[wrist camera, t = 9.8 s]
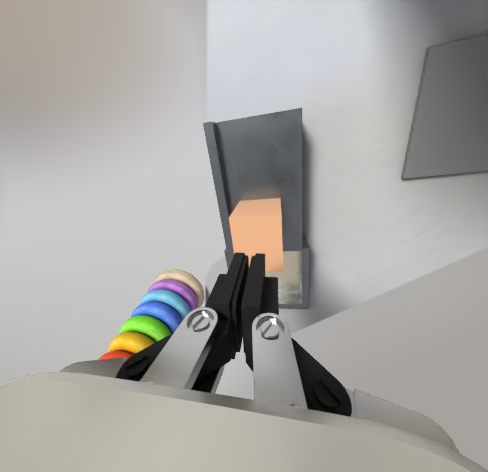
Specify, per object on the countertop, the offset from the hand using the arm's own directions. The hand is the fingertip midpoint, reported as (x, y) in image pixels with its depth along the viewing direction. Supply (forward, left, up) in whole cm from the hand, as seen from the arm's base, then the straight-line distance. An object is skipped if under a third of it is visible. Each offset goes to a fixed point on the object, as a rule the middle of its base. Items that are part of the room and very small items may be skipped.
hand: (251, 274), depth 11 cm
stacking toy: (+12, -14, -13) cm, 23 cm away
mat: (-7, +18, -13) cm, 23 cm away
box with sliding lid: (+2, 0, -13) cm, 13 cm away
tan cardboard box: (+1, 0, -10) cm, 10 cm away
